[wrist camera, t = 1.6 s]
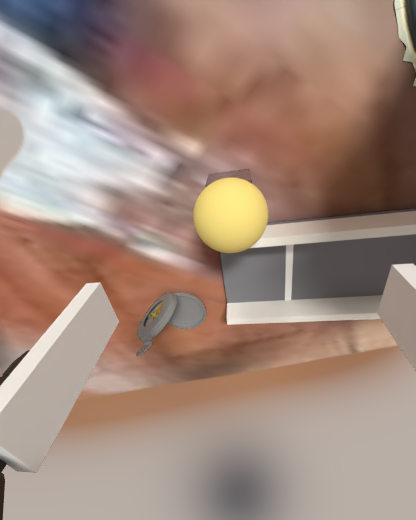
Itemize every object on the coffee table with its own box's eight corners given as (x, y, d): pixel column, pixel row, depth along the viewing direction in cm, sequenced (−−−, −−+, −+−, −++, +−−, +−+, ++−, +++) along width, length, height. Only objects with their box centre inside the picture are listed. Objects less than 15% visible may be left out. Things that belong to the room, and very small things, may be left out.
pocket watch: (201, 327, 37) (192, 393, 29) (147, 316, 37) (122, 378, 28) (213, 287, 33) (206, 351, 24) (151, 273, 32) (122, 333, 24)
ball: (203, 235, 24) (195, 270, 19) (192, 174, 21) (179, 196, 16) (264, 229, 23) (273, 264, 18) (262, 164, 20) (272, 185, 15)
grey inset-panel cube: (214, 211, 27) (211, 227, 23) (209, 174, 25) (205, 185, 21) (251, 207, 26) (254, 223, 23) (249, 168, 24) (251, 179, 21)
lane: (228, 305, 34) (227, 324, 31) (216, 228, 28) (215, 242, 25) (419, 296, 30) (439, 316, 27) (456, 204, 24) (487, 218, 21)
